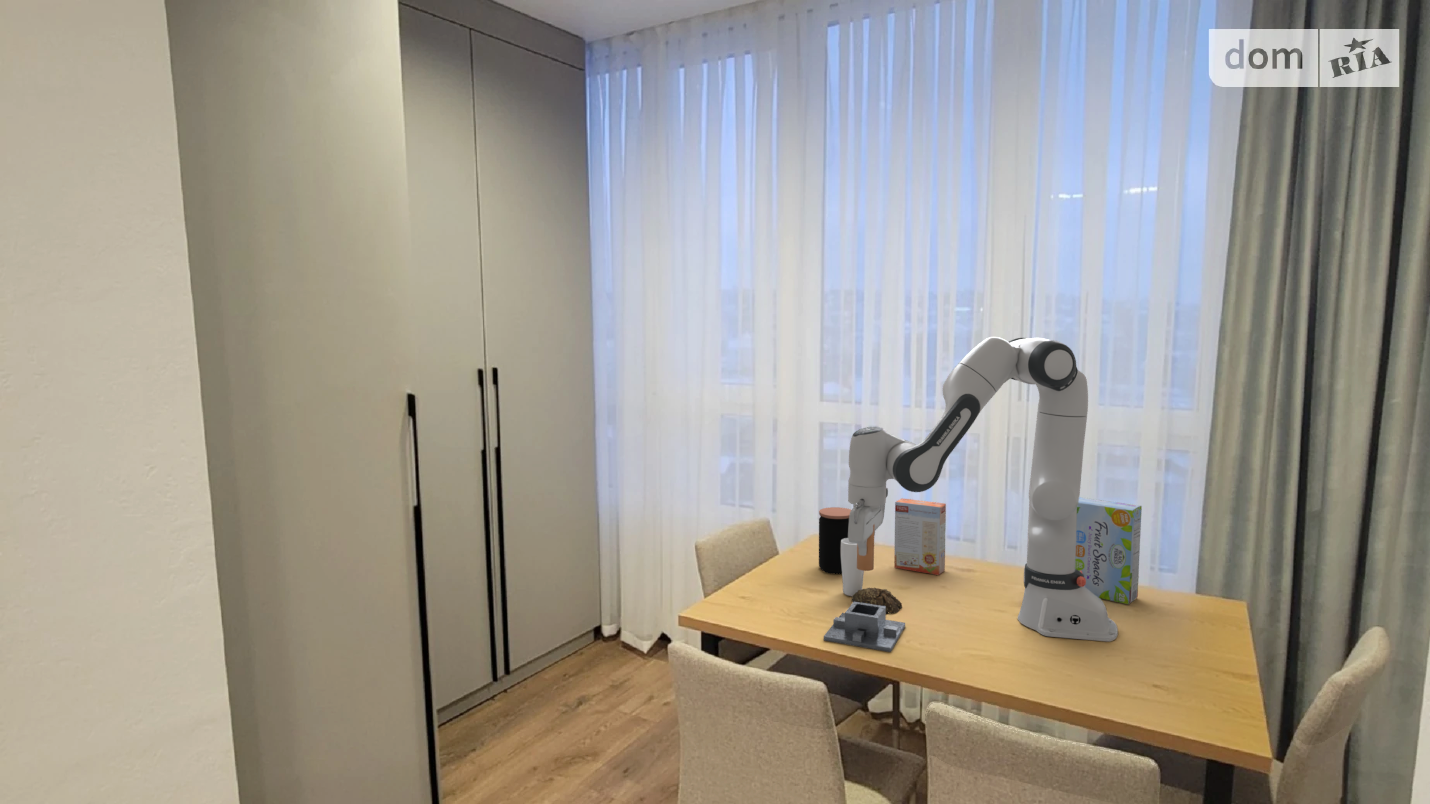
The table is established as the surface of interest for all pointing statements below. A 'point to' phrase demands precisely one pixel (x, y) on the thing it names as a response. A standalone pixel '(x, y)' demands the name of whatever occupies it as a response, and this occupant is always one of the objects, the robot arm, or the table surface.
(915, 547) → the cracker box
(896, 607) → the bread roll
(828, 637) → the hollow box on baseplate
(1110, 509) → the snack box
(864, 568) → the rounded pin
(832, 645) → the table surface
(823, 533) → the coffee jar
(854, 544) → the drinking glass
